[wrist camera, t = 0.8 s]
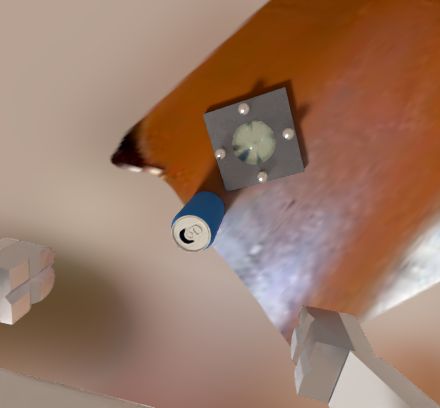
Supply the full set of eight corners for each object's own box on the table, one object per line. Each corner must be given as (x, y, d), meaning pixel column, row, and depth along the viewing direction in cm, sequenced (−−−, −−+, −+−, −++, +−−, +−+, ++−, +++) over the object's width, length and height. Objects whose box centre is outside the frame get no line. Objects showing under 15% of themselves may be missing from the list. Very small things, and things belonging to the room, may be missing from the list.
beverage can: (182, 202, 51) (159, 227, 39) (211, 183, 49) (195, 203, 37) (203, 230, 52) (186, 263, 40) (232, 213, 50) (223, 242, 38)
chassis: (284, 87, 43) (286, 85, 39) (303, 170, 46) (306, 174, 42) (204, 114, 45) (199, 114, 42) (227, 190, 49) (224, 195, 45)
